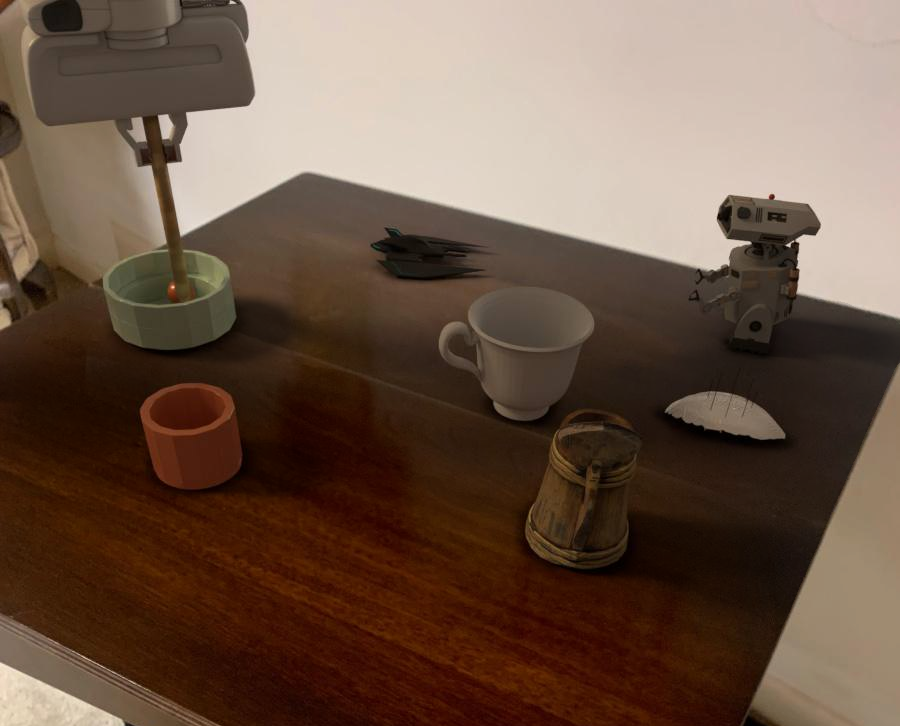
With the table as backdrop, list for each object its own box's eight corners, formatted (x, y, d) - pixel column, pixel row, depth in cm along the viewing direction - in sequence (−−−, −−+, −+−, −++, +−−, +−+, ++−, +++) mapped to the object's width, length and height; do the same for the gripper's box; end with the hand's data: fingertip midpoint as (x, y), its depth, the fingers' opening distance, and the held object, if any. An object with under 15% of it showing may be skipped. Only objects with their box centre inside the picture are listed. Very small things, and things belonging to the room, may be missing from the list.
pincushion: (786, 425, 90) (804, 377, 86) (779, 459, 86) (798, 410, 82) (670, 398, 93) (682, 350, 89) (659, 429, 89) (671, 381, 85)
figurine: (685, 304, 107) (717, 176, 97) (781, 320, 106) (825, 192, 95) (677, 341, 101) (711, 209, 90) (780, 359, 99) (826, 226, 89)
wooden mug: (511, 600, 72) (536, 414, 59) (531, 495, 81) (556, 314, 68) (620, 618, 71) (671, 433, 58) (628, 510, 80) (673, 330, 67)
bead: (166, 310, 100) (161, 285, 98) (175, 297, 102) (170, 273, 100) (192, 313, 100) (187, 288, 98) (200, 300, 102) (196, 275, 100)
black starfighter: (377, 235, 117) (377, 213, 115) (490, 245, 116) (492, 223, 114) (363, 274, 109) (362, 251, 107) (484, 285, 108) (485, 262, 106)
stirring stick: (176, 303, 97) (136, 103, 82) (180, 296, 98) (141, 98, 83) (189, 304, 97) (152, 104, 82) (194, 298, 98) (157, 99, 83)
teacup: (424, 381, 93) (426, 292, 86) (557, 368, 96) (570, 281, 89) (450, 449, 85) (455, 357, 78) (595, 433, 88) (613, 343, 81)
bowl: (96, 348, 95) (83, 300, 91) (139, 290, 104) (129, 244, 100) (216, 360, 94) (208, 312, 90) (249, 300, 104) (243, 254, 100)
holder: (141, 485, 80) (126, 430, 75) (170, 432, 85) (158, 378, 81) (228, 494, 79) (218, 440, 75) (252, 440, 85) (244, 386, 81)
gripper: (235, -20, 82) (253, 139, 92) (-1, -6, 76) (46, 163, 86) (253, -3, 78) (270, 161, 88) (6, 13, 72) (55, 188, 82)
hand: (158, 162), depth 87 cm, fingers closed on stirring stick, 1 cm apart
